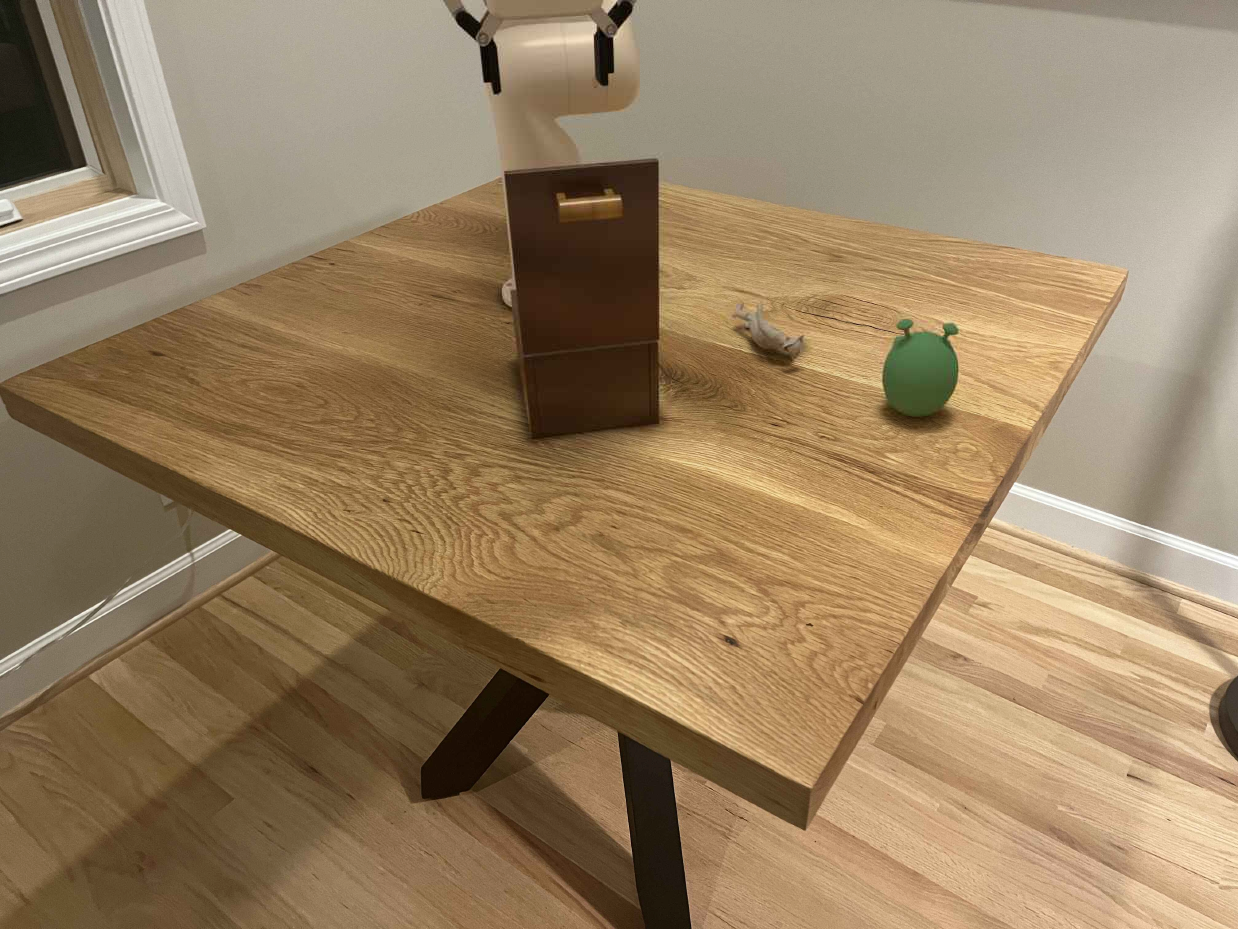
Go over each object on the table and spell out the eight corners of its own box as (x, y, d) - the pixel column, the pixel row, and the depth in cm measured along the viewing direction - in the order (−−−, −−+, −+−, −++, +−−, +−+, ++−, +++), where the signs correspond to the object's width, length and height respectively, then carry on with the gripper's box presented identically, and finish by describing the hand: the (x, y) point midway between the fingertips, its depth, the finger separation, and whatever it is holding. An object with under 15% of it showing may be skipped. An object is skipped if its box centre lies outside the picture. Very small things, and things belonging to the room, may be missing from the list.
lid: (503, 170, 74) (508, 191, 69) (656, 157, 75) (670, 176, 71) (522, 351, 83) (527, 378, 79) (657, 336, 85) (669, 362, 81)
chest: (518, 363, 101) (510, 289, 96) (630, 351, 103) (628, 277, 98) (531, 438, 88) (523, 357, 83) (659, 422, 90) (658, 342, 85)
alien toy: (946, 393, 93) (964, 304, 87) (953, 433, 87) (973, 340, 81) (875, 388, 94) (889, 299, 88) (877, 427, 88) (892, 335, 82)
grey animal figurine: (774, 328, 108) (837, 337, 98) (753, 363, 108) (814, 375, 98) (729, 292, 105) (791, 297, 94) (708, 327, 104) (767, 336, 94)
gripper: (631, -148, 76) (634, 70, 86) (422, -139, 73) (451, 84, 83) (650, -145, 70) (652, 89, 80) (424, -135, 67) (455, 104, 77)
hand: (549, 86), depth 81 cm, fingers open, 9 cm apart
